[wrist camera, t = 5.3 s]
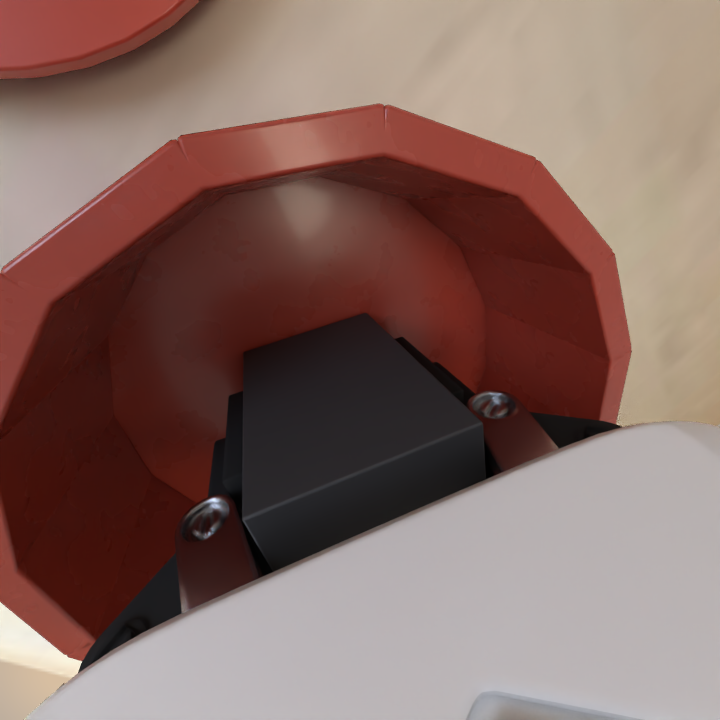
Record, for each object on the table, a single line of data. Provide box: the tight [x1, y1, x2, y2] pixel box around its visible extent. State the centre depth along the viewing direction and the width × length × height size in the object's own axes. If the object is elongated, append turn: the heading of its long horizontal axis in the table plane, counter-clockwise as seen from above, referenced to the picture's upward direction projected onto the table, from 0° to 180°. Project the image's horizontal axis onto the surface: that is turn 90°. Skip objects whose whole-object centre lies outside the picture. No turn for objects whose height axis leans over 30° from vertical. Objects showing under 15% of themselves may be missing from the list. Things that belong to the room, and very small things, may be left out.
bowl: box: [0, 104, 632, 661], centre depth 11 cm, size 15×15×6 cm
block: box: [242, 313, 486, 572], centre depth 10 cm, size 4×4×7 cm
